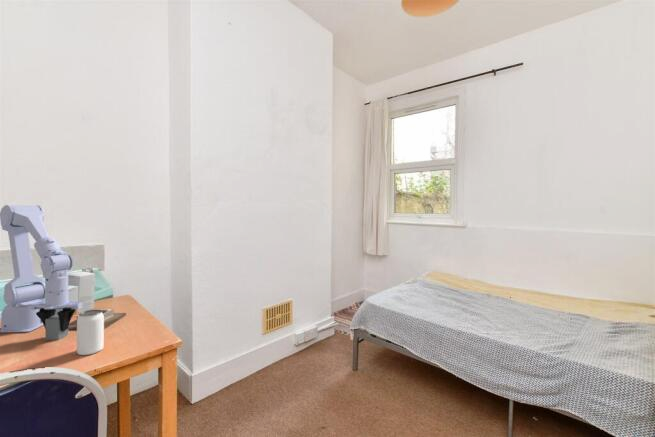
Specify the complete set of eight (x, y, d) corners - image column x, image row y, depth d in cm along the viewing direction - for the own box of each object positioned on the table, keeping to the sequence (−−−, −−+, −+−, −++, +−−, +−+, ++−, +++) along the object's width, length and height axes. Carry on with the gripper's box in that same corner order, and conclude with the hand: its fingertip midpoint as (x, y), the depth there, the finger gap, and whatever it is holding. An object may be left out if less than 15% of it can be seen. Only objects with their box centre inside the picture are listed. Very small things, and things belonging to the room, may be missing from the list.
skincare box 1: (62, 320, 112) (62, 290, 112) (53, 319, 113) (53, 289, 113) (78, 315, 118) (78, 286, 118) (70, 314, 119) (70, 285, 118)
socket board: (61, 329, 104) (61, 320, 104) (89, 315, 118) (89, 306, 118) (103, 329, 106) (103, 319, 106) (125, 315, 120) (126, 306, 120)
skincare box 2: (64, 310, 122) (64, 274, 122) (81, 305, 129) (81, 270, 128) (78, 313, 120) (78, 276, 119) (95, 308, 126) (95, 272, 126)
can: (87, 345, 94) (87, 308, 93) (108, 345, 94) (108, 308, 94) (71, 356, 87) (71, 316, 87) (94, 355, 88) (94, 316, 87)
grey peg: (45, 340, 96) (45, 319, 96) (55, 334, 100) (55, 314, 100) (58, 339, 97) (58, 319, 97) (68, 334, 101) (68, 314, 101)
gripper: (22, 293, 93) (22, 335, 94) (71, 293, 95) (71, 335, 95) (41, 287, 100) (41, 326, 101) (86, 287, 102) (86, 326, 102)
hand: (56, 330), depth 99 cm, fingers closed on grey peg, 4 cm apart
